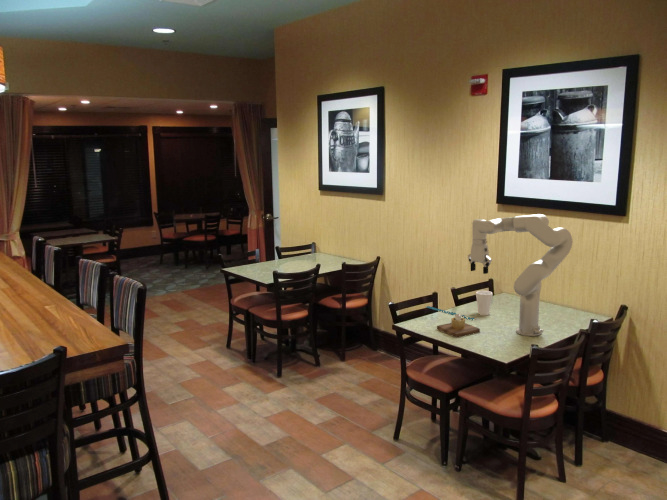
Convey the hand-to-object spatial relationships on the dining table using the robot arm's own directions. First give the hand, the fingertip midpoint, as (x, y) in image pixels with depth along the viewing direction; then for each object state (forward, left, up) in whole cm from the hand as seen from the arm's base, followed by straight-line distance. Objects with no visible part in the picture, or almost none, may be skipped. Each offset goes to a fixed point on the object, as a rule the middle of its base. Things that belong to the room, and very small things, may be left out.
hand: (479, 272), depth 299 cm
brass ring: (-5, +19, -27) cm, 34 cm away
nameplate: (+23, +2, -30) cm, 37 cm away
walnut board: (-5, +19, -29) cm, 35 cm away
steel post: (-5, +19, -27) cm, 34 cm away
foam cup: (+11, -14, -29) cm, 34 cm away
